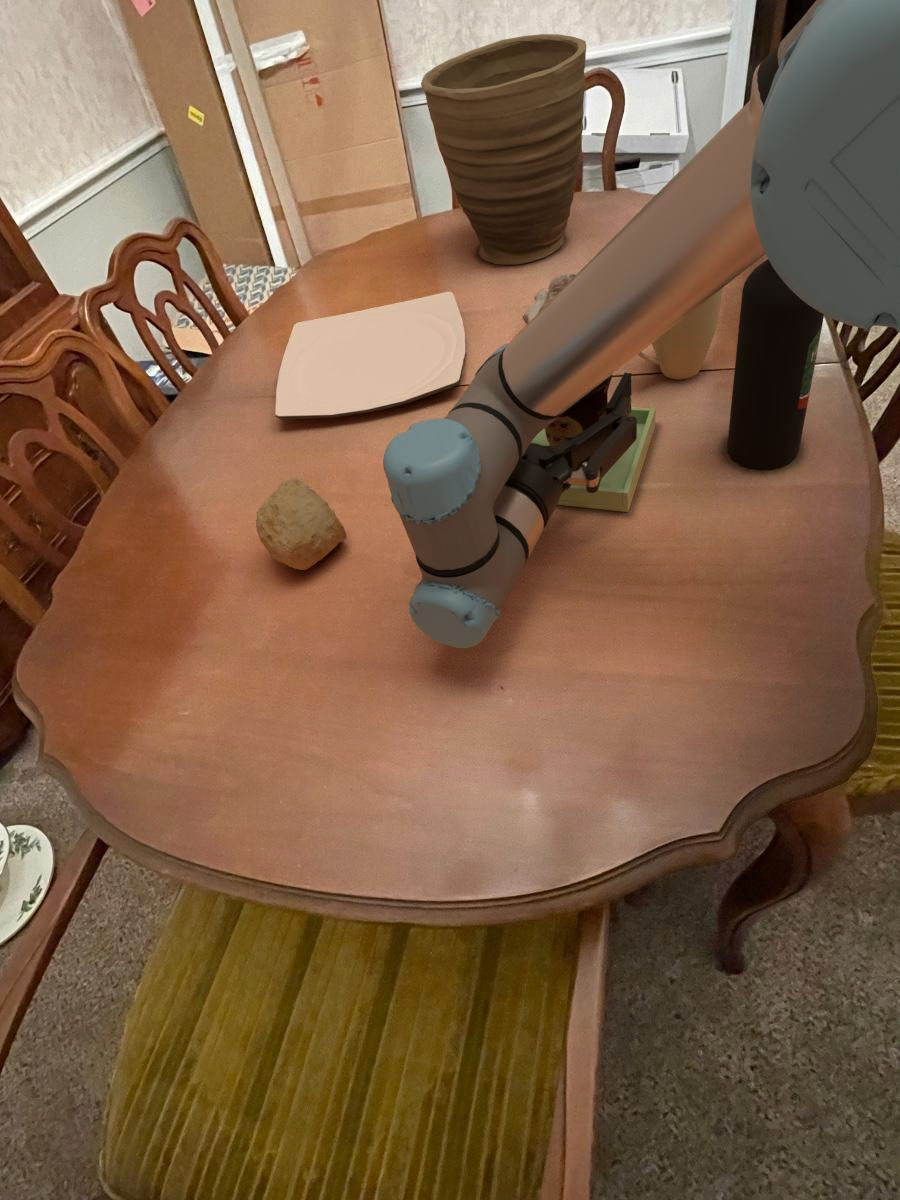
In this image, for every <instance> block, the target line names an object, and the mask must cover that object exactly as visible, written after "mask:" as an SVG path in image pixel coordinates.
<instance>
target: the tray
mask: <svg viewBox="0 0 900 1200" xmlns="http://www.w3.org/2000/svg"><path fill="white" fill-rule="evenodd" d="M656 411H657V410H656V407H642V406H631V412H630V414H629V416H634V417H636V418H637V439H636V441H635V442H634V443H633V444H632V445H631V446H630V447H629V448H628V450H627V451H626V452H625V453H624V454H623V455H622V456H621V457H620V459H619V460H618V461H617V462H616V463H615V464H614V465H613V466H612V468H611V469H610V470H609V471H608V472H607V473H606V474H605V475H604V476H603V478H602V479H601V482H600V486H599V489H598V491H597V492H595V493H589V492H587V490H586V486H578V485H571V487H570V488H569V489H567V490H565V491H564V492H563V493H562V494H561V496H560V499H559V501H558V504H557V506H566V507H575V508H585V509H586V508H587V509H595V510H604V511H614V512H623V513H629V512H630V507H631V506H632V505H631V504H632V501H633V499H634V495H635V492H636V489H637V486H638V483H639V480H640V476H641V473H642V470H643V467H644V464H645V461H646V457H647V456H648V455H647V454H648V451H649V449H650V445H651V442H652V440H653V435H654V432H655V429H656V414H657V413H656ZM629 416H628V417H629ZM531 443H537V444H539V445H542V446H549V445H550V444H549V443H548V441H547V438H546V433H545V428H544V429H543V430H542V431H541V432H539V433H538V434H537V435H536V437H535V438H534V439H533V440H532V442H531ZM573 472H575V471H573Z"/></svg>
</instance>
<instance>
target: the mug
mask: <svg viewBox="0 0 900 1200" xmlns="http://www.w3.org/2000/svg"><path fill="white" fill-rule="evenodd" d="M723 291H724V287H723V288H722V289H720V290H719V291H718V292H717V293H715V294H714V295H713V296H712V297H710V298H709V299H708V300H706V301H705V302H704V303H703V304H701V305H700V306H699V307H698V308H696V309H695V310H694V311H692V312H691V313H690V314H689V315H687V316H686V317H685V318H683V319H682V320H681V321H680V322H678V323H677V324H676V325H675V326H673V327H672V328H671V329H669V330H668V331H667V332H666V333H664V334H663V335H662V336H661V337H659V338H658V339H657V340H655V341H654V342H653V343H652V344H651V346H652V349H653V351H654V354H655V357H656V358H655V357H651V356H649V355H648V354H645V353H644V352H643V351H641V352H640V353H639V354H638V355H637V356H638V357H640V358H642V359H644V360H645V361H647V362H650V363H652V364H656V365H659V368H660V371H661V374H662V375H663V376H664V377H666V378H668V379H671V380H686V379H690V378H693V377H695V376H696V375H697V374H699V372H700V370H701V369H702V366H703V363H704V362H705V359H706V357H707V354H708V352H709V349H710V347H711V345H712V342H713V340H714V337H715V334H716V331H717V327H718V323H719V317H720V312H721V311H720V310H721V303H722V298H723Z"/></svg>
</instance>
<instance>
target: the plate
mask: <svg viewBox="0 0 900 1200" xmlns="http://www.w3.org/2000/svg"><path fill="white" fill-rule="evenodd" d="M466 339H467V338H466V332H465V326H464V320H463V317H462V315H461V311H460V309H459V306H458V304H457V300H456V298H455V295H454V293H453V291H450V290H448V291H445V292H444V291H443V292H440V293H436V294H431V295H426V296H423V297H419V298H414V299H409V300H405V301H400V302H396V303H389V304H385V305H381V306H375V307H371V308H366V309H362V310H357V311H352V312H347V313H343V314H342V313H341V314H337V315H336V314H335V315H331V316H326V317H320V318H315V319H310V320H304V321H299V322H296V323H295V324H293V327H292V330H291V333H290V335H289V339H288V342H287V345H286V347H285V351H284V353H283V357H282V361H281V364H280V367H279V372H278V377H277V382H276V383H277V384H276V389H275V413H274V414H275V418H277V419H279V420H301V419H302V420H303V419H305V420H306V419H307V420H308V419H335V418H342V417H347V416H353V415H359V414H360V415H361V414H366V413H372V412H376V411H380V410H385V409H390V408H394V407H400V406H404V405H406V404H409V403H413V402H415V401H419V400H421V399H424V398H426V397H430V396H433V395H436V394H438V393H441V392H443V391H446V390H449V389H452V388H453V387H455V386H457V385H458V384H459V383H460V382H461V379H462V373H463V371H464V370H463V369H464V365H465V360H466V355H467V347H466V346H467V343H466V342H467V341H466Z"/></svg>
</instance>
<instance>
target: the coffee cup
mask: <svg viewBox="0 0 900 1200" xmlns="http://www.w3.org/2000/svg"><path fill="white" fill-rule="evenodd" d="M613 376H614V373H613V374H612V375H611V376H610V377H608V378H607V379H606V380H604V381H603V382H602V383H601V384H599V385H598V386H597V387H595V388H594V389H593V390H592V391H590V392H589V393H588V394H587V395H585V396H584V397H583V398H581V399H580V400H579V401H578V402H576V403H575V404H574V405H573V406H571V407H570V408H569V409H567V410H566V411H565V412H564V413H563V414H562V415H561V416H559V417H558V418H557V419H556V420H554V421H553V422H552V423H551V424H549V425H548V426H547V427H546V428H545V433H546V438H547V441H548V443H549V444H550V445H551V446H556V445H557V444H559V443H560V442H562V441H563V440H565V439H567V440H571V439H572V438H574V437H575V436H577V435H578V434H580V433H581V432H583V431H584V430H586V429H587V428H589V427H590V426H592V425H593V424H595V423H596V422H598V421H599V420H601V419H602V418H603V417H605V416H606V406H607V405H608V403H609V400H608V391H609V388H610V384H611V381H612V378H613ZM590 457H591V456H589V457H588V458H586V459H585V460H583V461H582V462H580V463H579V464H578V466H577V468H576V470H575V471H578V470H579V469H580V468H581V467H582V463H583V462H588V460H589V458H590Z"/></svg>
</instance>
